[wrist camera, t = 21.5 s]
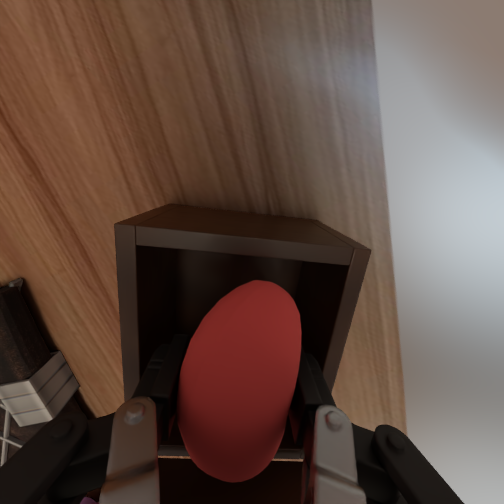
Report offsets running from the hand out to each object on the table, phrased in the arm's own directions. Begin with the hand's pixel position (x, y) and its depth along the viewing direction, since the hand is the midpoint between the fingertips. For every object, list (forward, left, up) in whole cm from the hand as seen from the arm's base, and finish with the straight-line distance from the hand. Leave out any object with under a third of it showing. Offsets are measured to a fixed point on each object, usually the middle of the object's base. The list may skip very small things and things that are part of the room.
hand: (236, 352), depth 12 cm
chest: (+2, -1, -10) cm, 11 cm away
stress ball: (0, 0, -1) cm, 1 cm away
